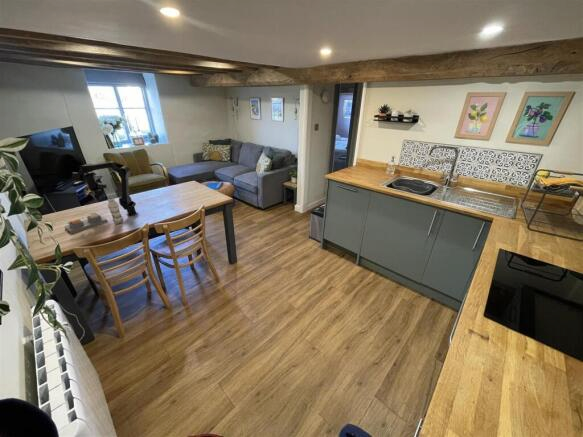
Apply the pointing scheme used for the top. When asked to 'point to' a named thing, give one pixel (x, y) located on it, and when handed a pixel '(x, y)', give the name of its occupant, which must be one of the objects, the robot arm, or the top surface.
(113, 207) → the plastic bottle
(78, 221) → the orange cube
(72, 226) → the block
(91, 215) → the beige cube
